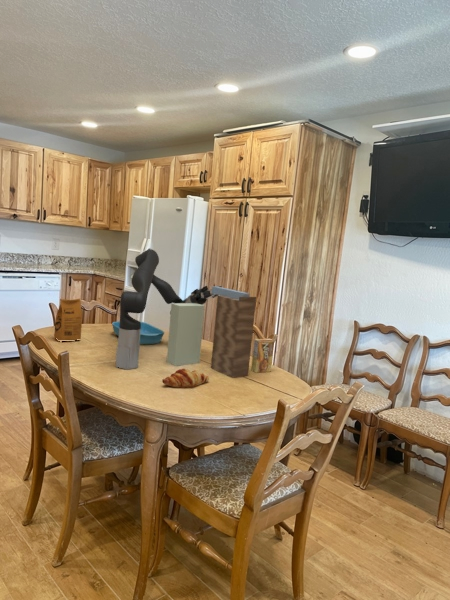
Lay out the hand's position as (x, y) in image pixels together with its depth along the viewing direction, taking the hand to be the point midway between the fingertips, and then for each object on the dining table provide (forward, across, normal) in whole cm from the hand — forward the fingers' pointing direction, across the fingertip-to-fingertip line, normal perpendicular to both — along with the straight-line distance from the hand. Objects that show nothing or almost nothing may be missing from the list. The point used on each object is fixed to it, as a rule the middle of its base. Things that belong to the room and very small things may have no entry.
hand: (214, 287), depth 203 cm
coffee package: (-70, -48, +2) cm, 85 cm away
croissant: (+2, -28, +44) cm, 52 cm away
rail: (+9, 0, +8) cm, 12 cm away
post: (-4, 0, +40) cm, 40 cm away
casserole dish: (-65, -10, +5) cm, 66 cm away
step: (-21, -12, +30) cm, 39 cm away
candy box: (0, +16, +43) cm, 45 cm away
